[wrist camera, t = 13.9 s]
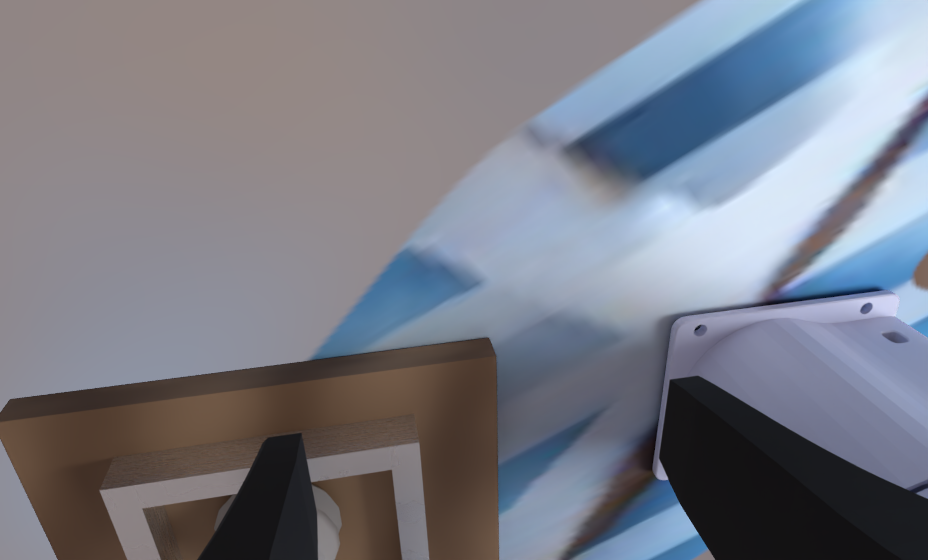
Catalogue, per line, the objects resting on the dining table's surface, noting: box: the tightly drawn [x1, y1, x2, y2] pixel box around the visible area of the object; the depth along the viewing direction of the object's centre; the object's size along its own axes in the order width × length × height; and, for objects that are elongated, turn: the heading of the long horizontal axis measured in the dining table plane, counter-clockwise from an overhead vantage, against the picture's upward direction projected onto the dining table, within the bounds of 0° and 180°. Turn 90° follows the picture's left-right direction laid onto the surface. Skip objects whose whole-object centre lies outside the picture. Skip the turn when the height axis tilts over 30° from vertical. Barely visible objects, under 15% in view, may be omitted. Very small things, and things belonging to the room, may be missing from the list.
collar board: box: [0, 338, 499, 560], centre depth 24 cm, size 16×14×3 cm
